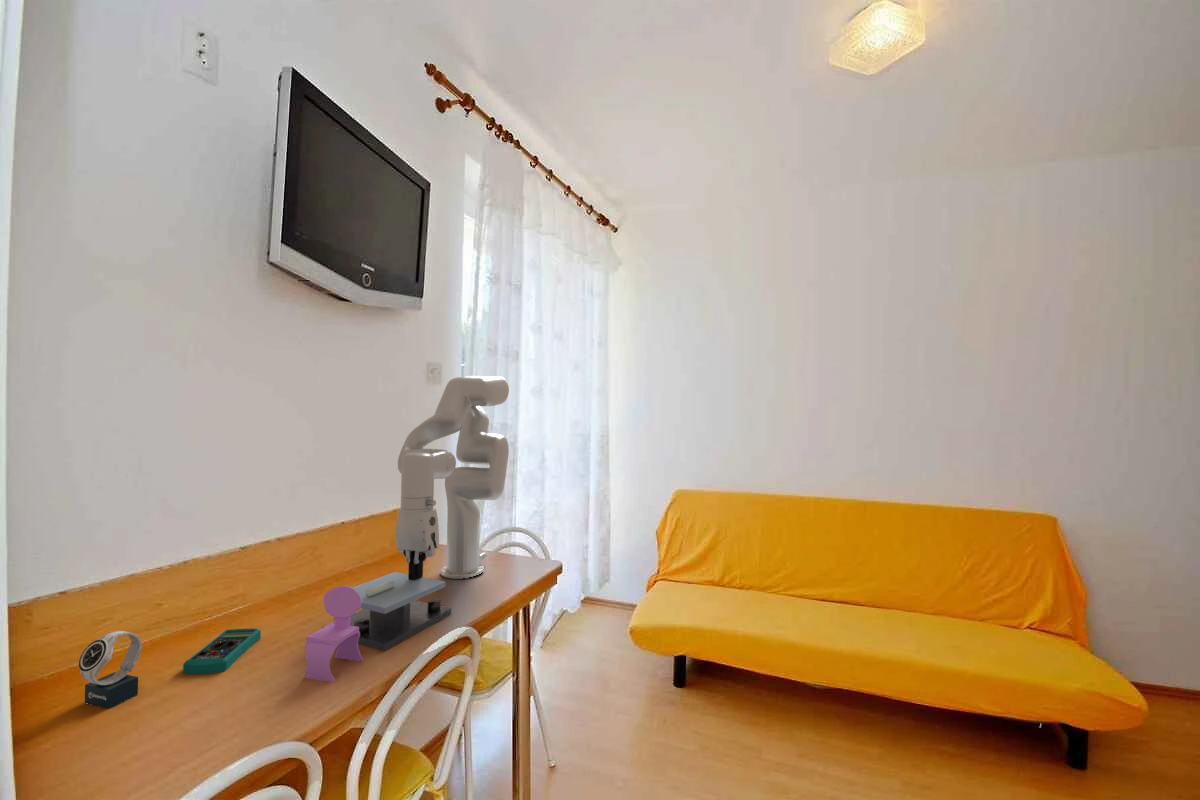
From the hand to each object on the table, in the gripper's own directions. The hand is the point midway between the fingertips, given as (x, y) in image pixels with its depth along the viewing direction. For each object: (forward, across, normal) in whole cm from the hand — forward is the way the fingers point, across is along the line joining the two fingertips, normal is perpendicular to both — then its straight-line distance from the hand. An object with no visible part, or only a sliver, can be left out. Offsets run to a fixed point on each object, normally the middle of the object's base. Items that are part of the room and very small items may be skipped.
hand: (415, 578), depth 129 cm
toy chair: (+8, -6, +28) cm, 30 cm away
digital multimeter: (+9, +18, +33) cm, 39 cm away
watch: (+8, +19, +51) cm, 55 cm away
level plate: (+1, 0, +8) cm, 8 cm away
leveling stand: (+8, 0, +8) cm, 11 cm away
